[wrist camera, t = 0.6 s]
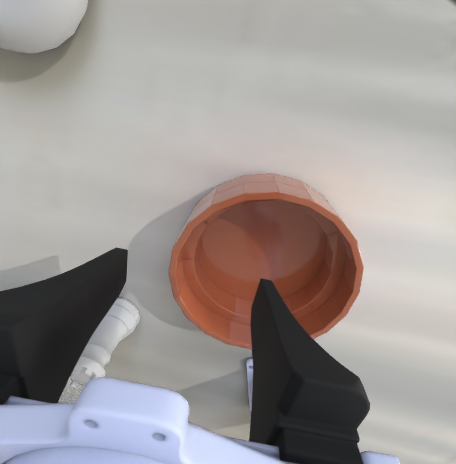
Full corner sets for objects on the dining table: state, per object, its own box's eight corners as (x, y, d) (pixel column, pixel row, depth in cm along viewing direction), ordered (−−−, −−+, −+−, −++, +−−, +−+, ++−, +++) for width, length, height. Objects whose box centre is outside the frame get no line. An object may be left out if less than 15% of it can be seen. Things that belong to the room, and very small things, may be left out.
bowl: (333, 308, 27) (350, 349, 23) (194, 310, 28) (184, 350, 24) (350, 166, 21) (377, 186, 17) (171, 177, 22) (152, 198, 18)
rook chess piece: (142, 299, 28) (106, 368, 21) (140, 330, 30) (107, 402, 23) (99, 291, 28) (48, 357, 21) (100, 322, 30) (54, 393, 23)
